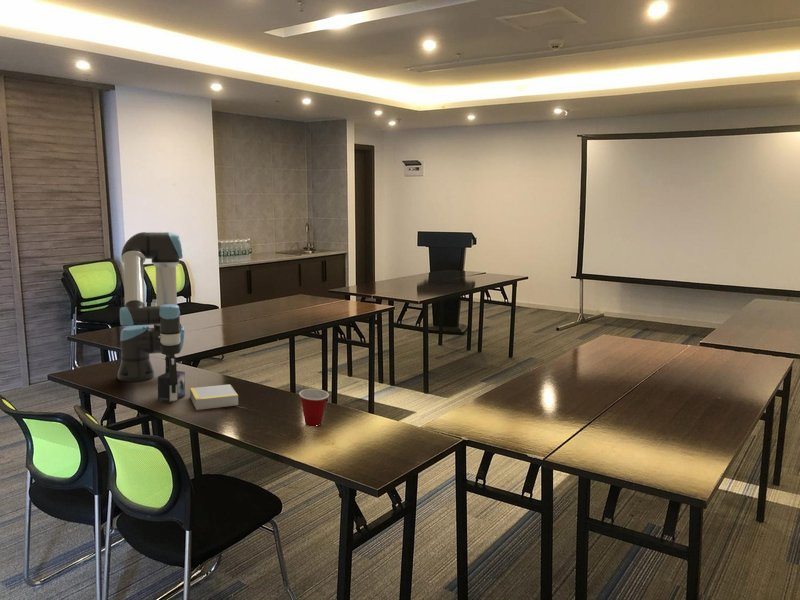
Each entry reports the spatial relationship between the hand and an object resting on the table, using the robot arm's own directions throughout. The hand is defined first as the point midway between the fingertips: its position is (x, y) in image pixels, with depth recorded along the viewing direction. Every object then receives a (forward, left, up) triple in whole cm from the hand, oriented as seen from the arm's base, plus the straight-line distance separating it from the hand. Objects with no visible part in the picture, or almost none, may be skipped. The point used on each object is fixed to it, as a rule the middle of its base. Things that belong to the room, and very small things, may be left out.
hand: (171, 395), depth 254 cm
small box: (0, 0, -1) cm, 1 cm away
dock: (+9, +15, -1) cm, 18 cm away
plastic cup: (+48, +44, -2) cm, 65 cm away
